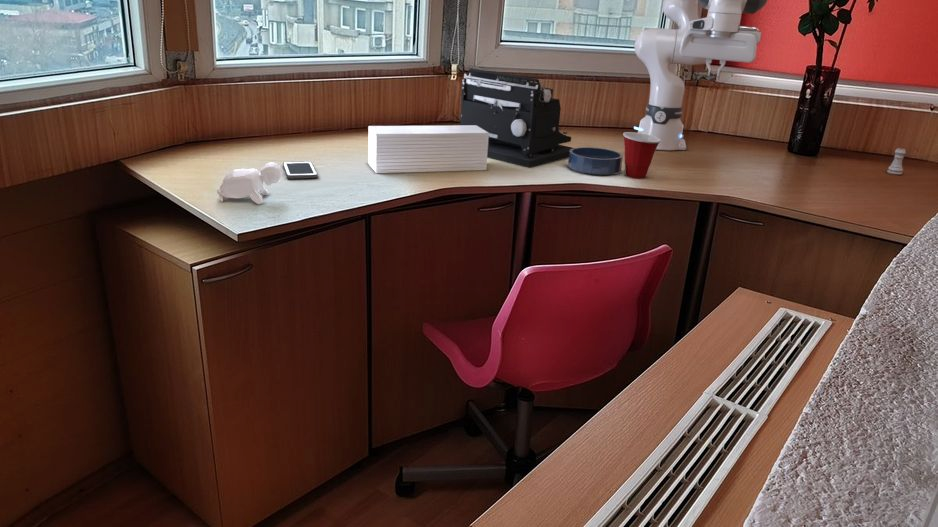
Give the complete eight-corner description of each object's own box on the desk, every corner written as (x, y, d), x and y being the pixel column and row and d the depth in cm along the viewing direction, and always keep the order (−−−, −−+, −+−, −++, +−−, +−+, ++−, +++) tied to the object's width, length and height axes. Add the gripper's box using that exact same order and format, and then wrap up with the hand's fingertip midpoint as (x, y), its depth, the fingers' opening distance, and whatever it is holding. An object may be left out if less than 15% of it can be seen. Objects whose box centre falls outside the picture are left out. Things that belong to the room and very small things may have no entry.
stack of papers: (474, 161, 214) (476, 125, 210) (486, 170, 205) (488, 132, 201) (368, 163, 204) (368, 125, 200) (375, 173, 195) (376, 133, 191)
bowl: (576, 160, 223) (578, 144, 221) (625, 168, 217) (628, 152, 215) (560, 170, 209) (562, 154, 207) (613, 179, 204) (615, 162, 202)
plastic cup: (655, 183, 202) (662, 141, 198) (616, 178, 204) (622, 137, 200) (655, 174, 212) (661, 133, 208) (618, 170, 214) (623, 130, 210)
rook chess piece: (900, 172, 233) (907, 148, 230) (903, 176, 229) (910, 151, 226) (885, 171, 234) (892, 146, 231) (887, 174, 230) (894, 149, 227)
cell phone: (311, 164, 199) (311, 161, 199) (318, 178, 186) (317, 174, 186) (282, 165, 197) (282, 161, 196) (287, 179, 184) (287, 175, 183)
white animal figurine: (226, 216, 164) (287, 194, 163) (209, 182, 160) (272, 160, 160) (234, 205, 171) (292, 184, 171) (218, 172, 168) (278, 151, 168)
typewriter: (578, 155, 230) (587, 75, 221) (529, 167, 210) (537, 80, 201) (502, 138, 248) (508, 63, 239) (450, 148, 229) (454, 67, 219)
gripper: (763, 27, 194) (753, 79, 199) (686, 21, 202) (678, 71, 207) (762, 27, 189) (751, 81, 194) (683, 21, 196) (674, 73, 202)
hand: (713, 76), depth 201 cm, fingers closed
